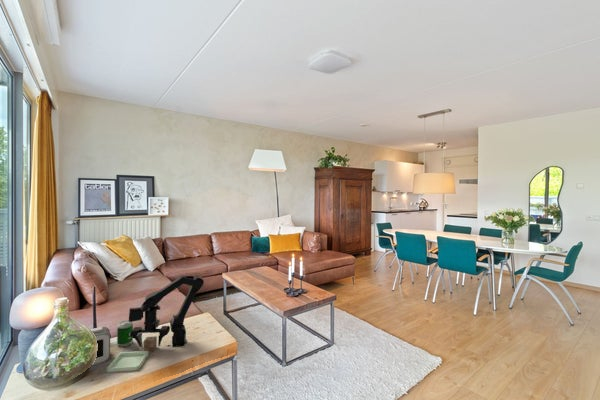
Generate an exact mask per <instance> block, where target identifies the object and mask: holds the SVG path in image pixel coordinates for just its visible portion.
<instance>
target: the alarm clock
mask: <svg viewBox="0 0 600 400" xmlns="http://www.w3.org/2000/svg"><path fill="white" fill-rule="evenodd" d="M89 329H90V330H91V331H92V332H93V333H94V334H95V336H96V338H97V343H98V351H97V357H96V360H95V362H94V364H93V365H92V366H95V365H98V364H102V363H105V362H106V361H108V360H109V359H110V356H111V332H110V331H111V330H110V328H109V327H107V326H100V327H95V328H89Z"/></svg>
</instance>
